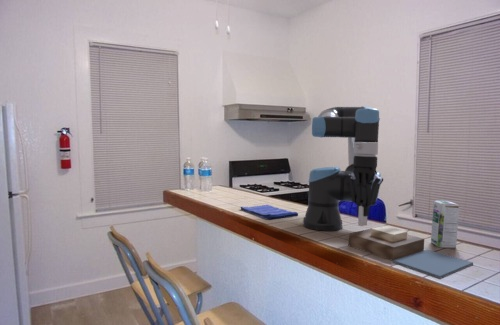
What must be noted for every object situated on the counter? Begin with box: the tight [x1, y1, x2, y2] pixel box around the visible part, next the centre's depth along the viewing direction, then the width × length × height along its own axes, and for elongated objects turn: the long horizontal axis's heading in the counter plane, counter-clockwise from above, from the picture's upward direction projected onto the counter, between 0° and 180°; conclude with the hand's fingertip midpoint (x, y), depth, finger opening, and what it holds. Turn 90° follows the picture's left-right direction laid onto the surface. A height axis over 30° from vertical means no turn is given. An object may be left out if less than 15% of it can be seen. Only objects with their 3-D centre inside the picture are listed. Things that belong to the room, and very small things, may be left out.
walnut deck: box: [348, 228, 425, 262], centre depth 108 cm, size 16×16×4 cm
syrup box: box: [430, 200, 460, 249], centre depth 112 cm, size 6×6×14 cm
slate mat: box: [392, 249, 474, 279], centre depth 95 cm, size 13×18×1 cm
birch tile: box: [370, 225, 408, 242], centre depth 107 cm, size 8×7×2 cm
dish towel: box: [240, 204, 299, 220], centre depth 157 cm, size 17×24×3 cm
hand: (362, 225), depth 115 cm, fingers closed
